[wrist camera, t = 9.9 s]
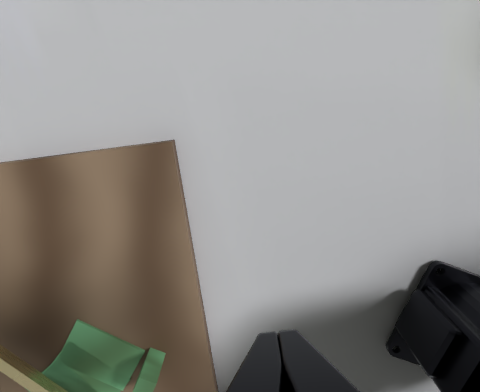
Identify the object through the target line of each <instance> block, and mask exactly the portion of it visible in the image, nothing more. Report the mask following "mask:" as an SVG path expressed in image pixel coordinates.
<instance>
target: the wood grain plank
mask: <svg viewBox="0 0 480 392" xmlns="http://www.w3.org/2000/svg"><path fill="white" fill-rule="evenodd" d="M0 371H1V372H2V373H4V374H5V375H7V376H8V377H10V378H11V379H13V380H14V381H15V382H17V383H18V384H20V385H21V386H23V387H24V388H26V389H27V390H29V391H30V392H68V391H67V390H65V389H64V388H62V387H61V386H59V385H58V384H56V383H55V382H54V381H52V380H51V379H49V378H48V377H46V376H45V375H43V374H42V373H41V372H39V371H38V370H36V369H35V368H33V367H32V366H30V365H29V364H27V363H26V362H25V361H23V360H22V359H20V358H19V357H17V356H16V355H14V354H13V353H12V352H10V351H9V350H7V349H6V348H4V347H3V346H1V345H0Z"/></svg>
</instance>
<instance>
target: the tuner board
mask: <svg viewBox="0 0 480 392" xmlns="http://www.w3.org/2000/svg"><path fill="white" fill-rule="evenodd" d="M0 345H1V346H3V347H4V348H6V349H7V350H9V351H10V352H12V353H13V354H14V355H16V356H17V357H19V358H20V359H22V360H23V361H25V362H26V363H27V364H29V365H30V366H32V367H33V368H35V369H36V370H38V371H39V372H41V373H42V374H43V375H45V376H46V377H48V378H49V379H51V380H52V381H54V382H55V383H56V384H58V385H59V386H61V387H62V388H64V389H65V390H67V391H68V392H218V387H217V382H216V376H215V370H214V364H213V359H212V353H211V347H210V341H209V336H208V330H207V324H206V318H205V313H204V307H203V301H202V295H201V290H200V284H199V278H198V272H197V267H196V261H195V255H194V249H193V244H192V238H191V232H190V226H189V221H188V215H187V209H186V203H185V198H184V192H183V186H182V180H181V175H180V169H179V163H178V157H177V152H176V146H175V140H169V141H161V142H154V143H146V144H139V145H131V146H123V147H116V148H108V149H100V150H93V151H85V152H78V153H70V154H62V155H55V156H47V157H39V158H32V159H24V160H17V161H9V162H1V163H0ZM0 392H30V391H29V390H27V389H26V388H24V387H23V386H21V385H20V384H18V383H17V382H15V381H14V380H13V379H11V378H10V377H8V376H7V375H5V374H4V373H2V372H1V371H0Z"/></svg>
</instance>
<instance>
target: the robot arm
mask: <svg viewBox="0 0 480 392" xmlns="http://www.w3.org/2000/svg"><path fill="white" fill-rule="evenodd" d="M438 268H441V270H440V272H438V273H436V270H437V269H438ZM395 326H396V327H395V329H394V331H393V332H392V334H391V336H390V338H389V340H388V341H387V344H386V348H387V350H388V352H389V353H390V355H392V356H394V357H397V358H400V359H403V360H406V361H409V362H412V363H415V364H418V365H421V367H422V368H423V370H424V371H425V373H426V374H427V375H428V376H430V377H431V378H432V380H433V381H434V383H435V384H436V386H437V387H438V389H439V390H440V392H480V276H479V275H477V274H474V273H471V272H469V271H466V270H463V269H460V268H458V267H455V266H452V265H449V264H447V263H444V262H441V261H434V262H433V263H431V264H430V265H429V267H428V269H427V271H426V272H425V274H424V276H423V278H422V280H421V281H420V283H419V285H418V287H417V289H416V291H414V292H413V294H412V295H411V297H410V299H409V301H408V303H407V305H406V306H405V308H404V310H403V312H402V314H401V316H400V317H399V319H398V321H397V323H396V325H395ZM395 346H398V347H397V348H395V349H393V347H395ZM226 392H360V391H359V390H358V389H357V388H356V387H355V386H354V385H353V384H352V383H350V382H349V381H348V380H347V379H346V378H345V377H344V376H343V375H342V374H341V373H340V372H339V371H338V370H337V369H336V368H335V367H334V366H333V365H332V364H331V363H330V362H329V361H328V360H327V359H326V358H325V357H324V356H323V355H322V354H321V353H320V352H319V351H318V350H317V349H316V348H315V347H314V346H313V345H311V344H310V343H309V342H308V341H307V340H306V339H305V338H304V337H303V336H302V335H301V334H300V333H299V332H298V331H297V330H295V329H293V330H284V331H280V332H279V333H278V334H277V333H276V332H266V333H260V334H259V335H258V336H257V338H256V340H255V342H254V343H253V345H252V347H251V349H250V350H249V352H248V354H247V356H246V357H245V359H244V361H243V363H242V365H241V366H240V368H239V370H238V372H237V373H236V375H235V377H234V379H233V380H232V382H231V384H230V386H229V387H228V389H227V391H226Z"/></svg>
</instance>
